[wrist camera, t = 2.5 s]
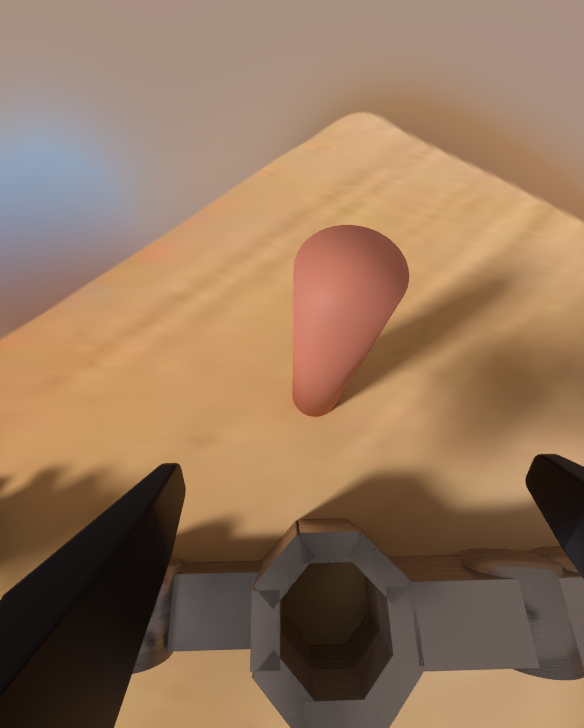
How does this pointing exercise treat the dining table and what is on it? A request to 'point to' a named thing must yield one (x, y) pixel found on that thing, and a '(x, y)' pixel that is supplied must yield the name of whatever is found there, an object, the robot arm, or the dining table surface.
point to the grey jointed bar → (374, 622)
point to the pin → (340, 309)
